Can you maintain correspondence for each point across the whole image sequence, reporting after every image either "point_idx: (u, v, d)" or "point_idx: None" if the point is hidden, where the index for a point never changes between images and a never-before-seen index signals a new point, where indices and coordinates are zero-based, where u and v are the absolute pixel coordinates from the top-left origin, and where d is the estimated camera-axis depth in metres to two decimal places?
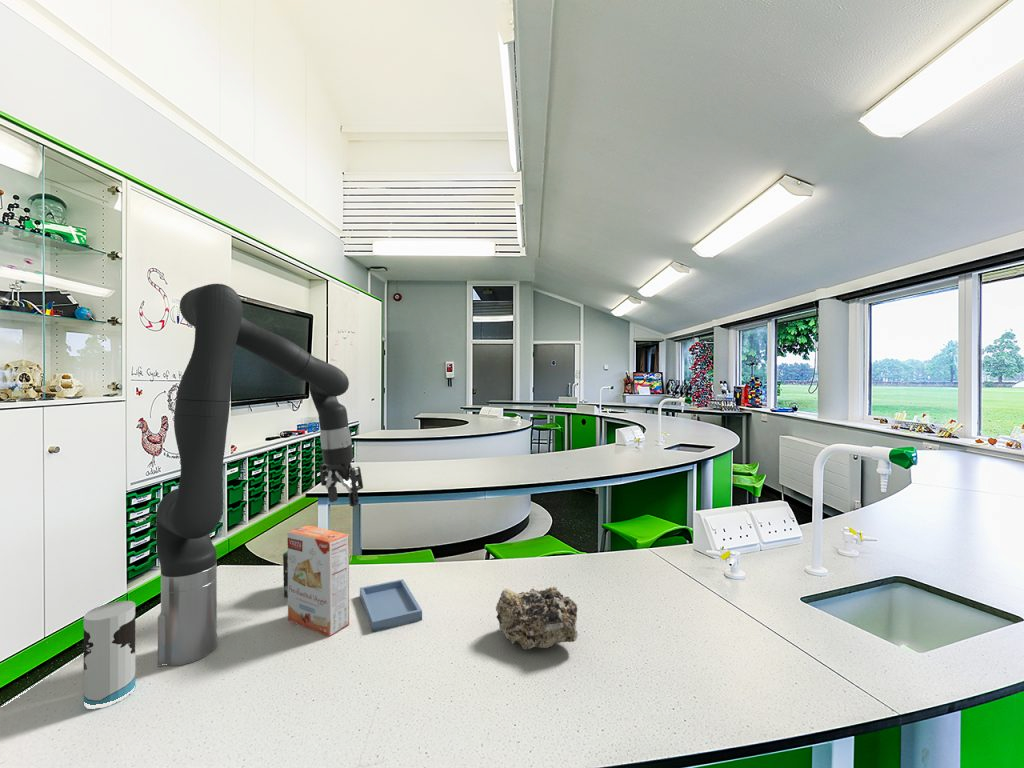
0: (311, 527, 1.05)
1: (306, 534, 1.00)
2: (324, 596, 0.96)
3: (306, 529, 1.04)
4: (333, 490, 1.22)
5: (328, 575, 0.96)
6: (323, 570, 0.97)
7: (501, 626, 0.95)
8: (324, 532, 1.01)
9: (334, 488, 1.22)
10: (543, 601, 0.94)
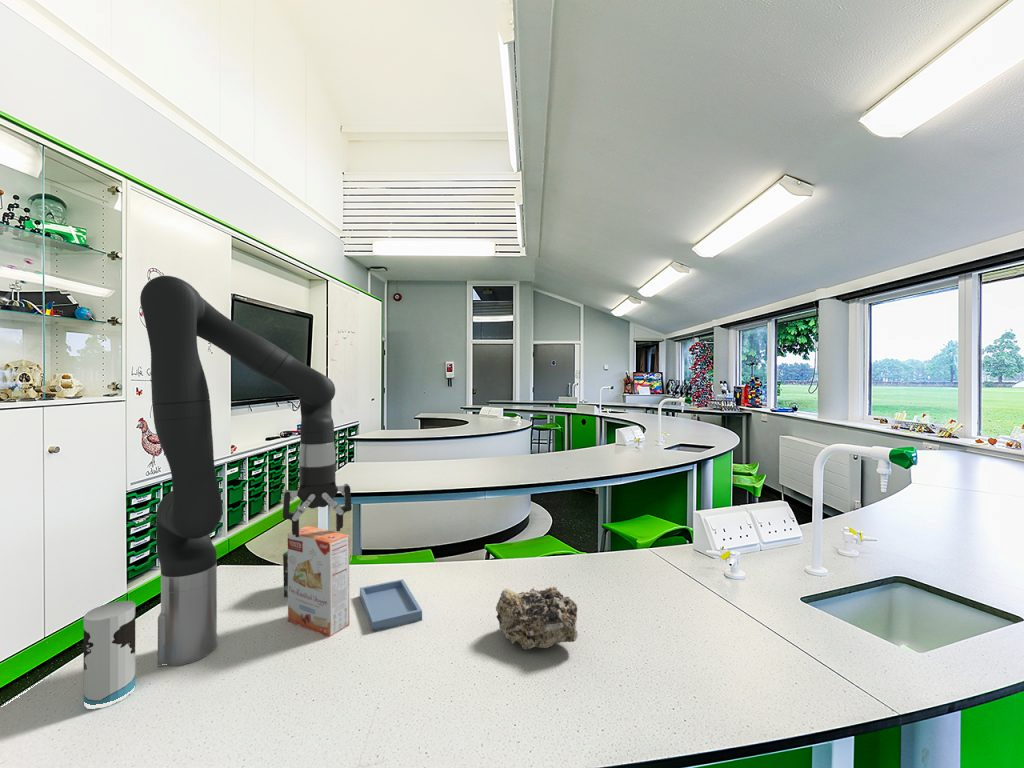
0: (311, 527, 1.05)
1: (306, 534, 1.00)
2: (325, 597, 0.97)
3: (306, 529, 1.04)
4: None
5: (328, 576, 0.96)
6: (324, 571, 0.97)
7: (501, 626, 0.95)
8: (324, 533, 1.01)
9: (298, 520, 1.00)
10: (543, 601, 0.94)
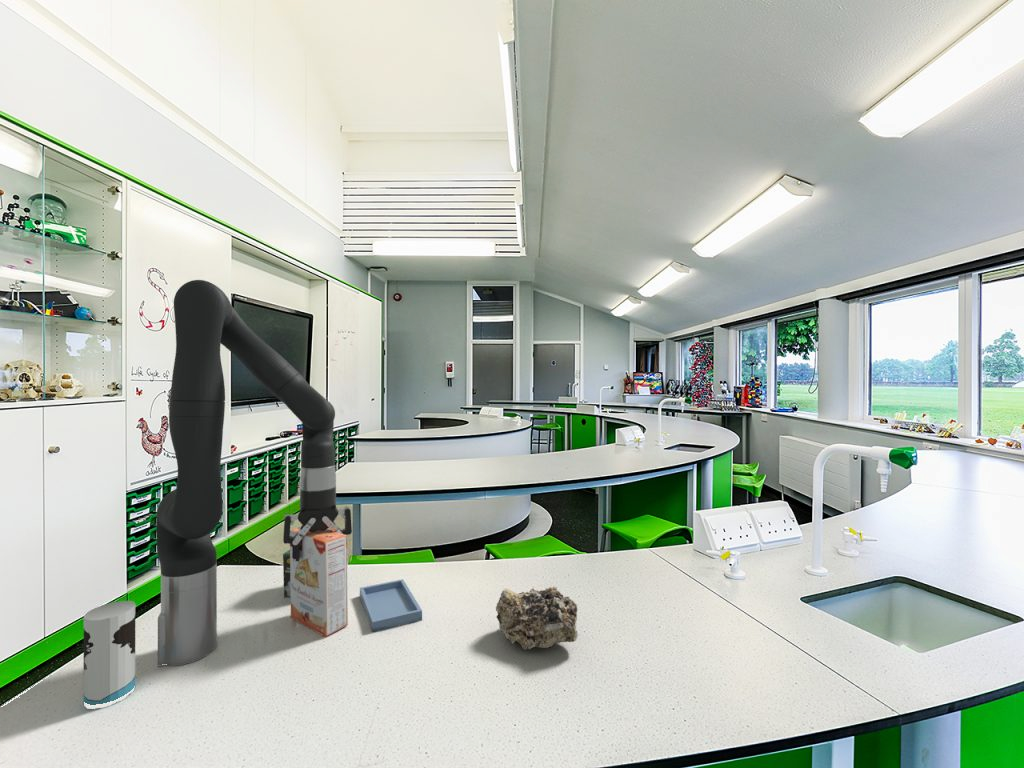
0: None
1: (306, 533, 1.01)
2: (321, 596, 0.96)
3: None
4: None
5: (324, 576, 0.96)
6: (320, 570, 0.96)
7: (501, 626, 0.95)
8: (324, 532, 1.01)
9: None
10: (543, 601, 0.94)
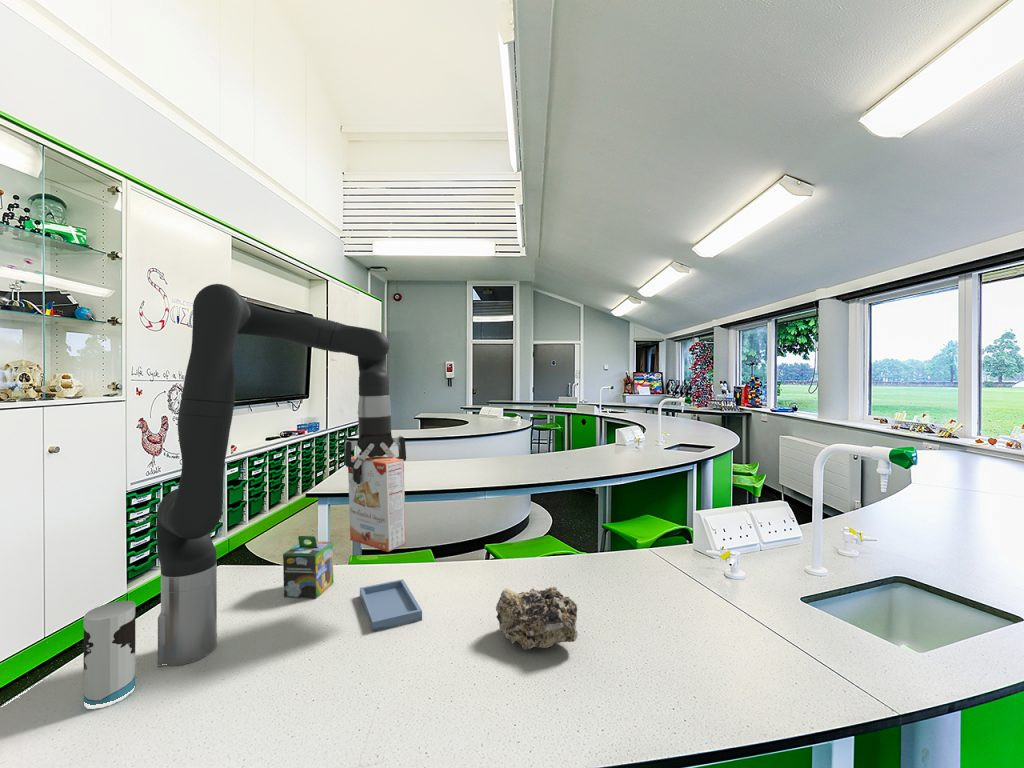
0: None
1: None
2: (382, 515, 1.03)
3: None
4: None
5: (385, 495, 1.02)
6: (381, 490, 1.03)
7: (501, 626, 0.95)
8: (381, 457, 1.07)
9: None
10: (543, 601, 0.94)
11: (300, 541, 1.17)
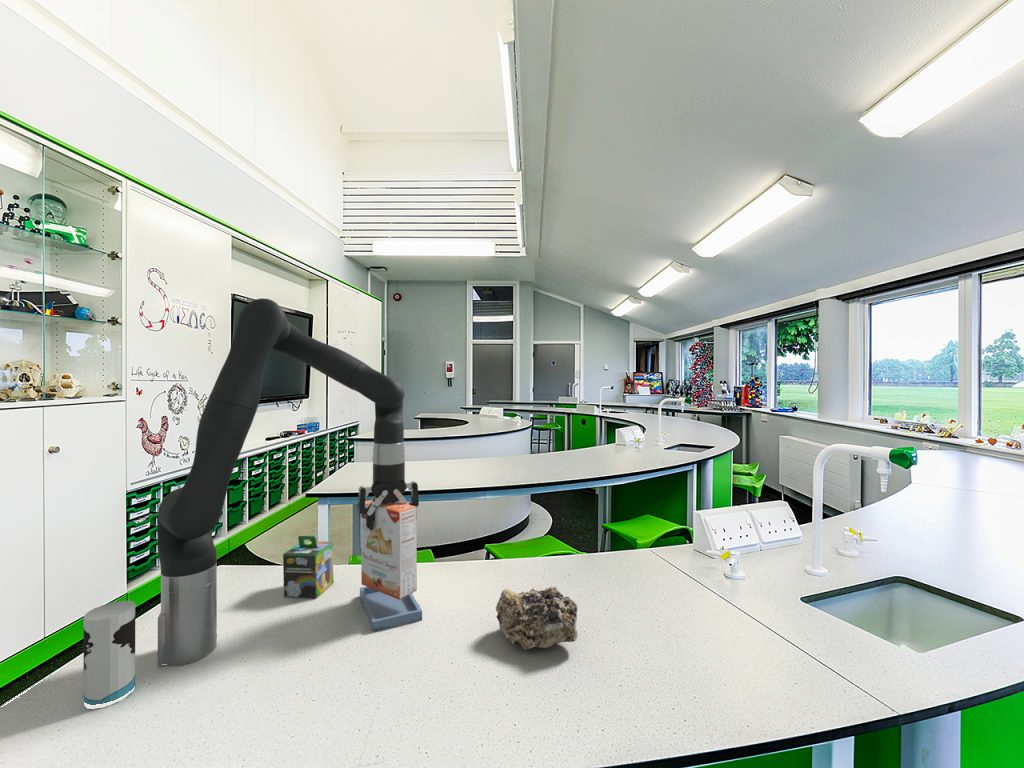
0: None
1: None
2: (395, 562, 1.04)
3: None
4: None
5: (398, 543, 1.03)
6: (394, 538, 1.04)
7: (501, 626, 0.95)
8: (394, 504, 1.09)
9: None
10: (543, 601, 0.94)
11: (300, 541, 1.17)
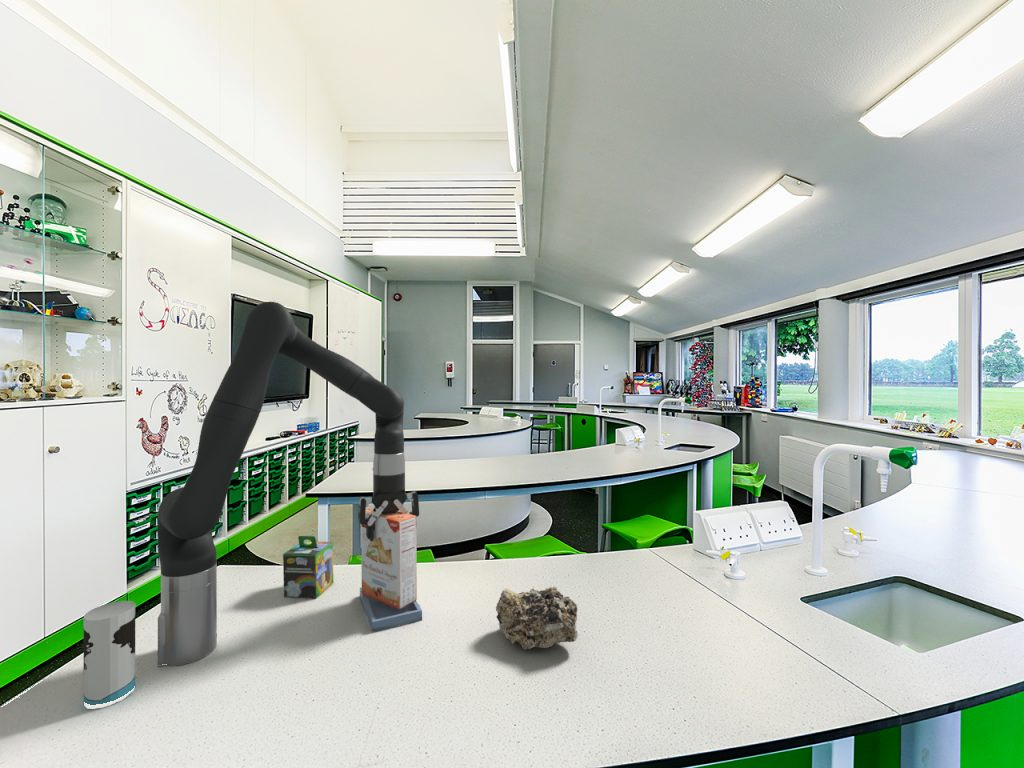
0: None
1: None
2: (395, 572, 1.04)
3: None
4: None
5: (398, 552, 1.03)
6: (394, 547, 1.04)
7: (501, 626, 0.95)
8: (394, 513, 1.09)
9: None
10: (543, 601, 0.94)
11: (300, 541, 1.17)
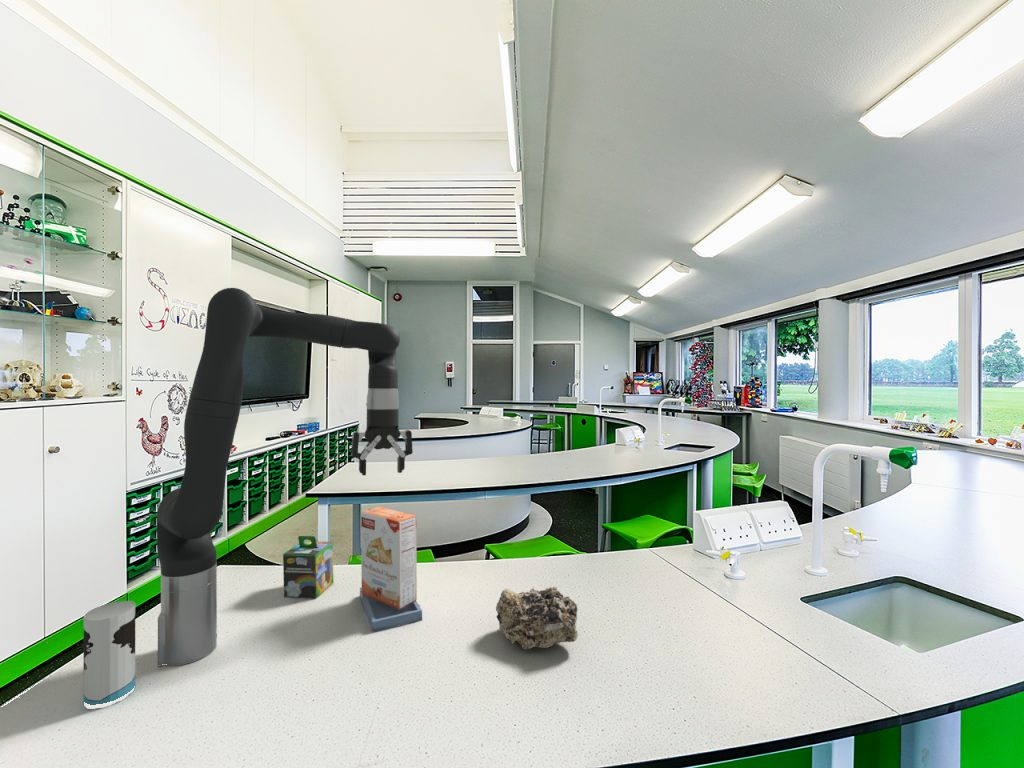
0: (381, 508, 1.13)
1: (378, 514, 1.08)
2: (395, 572, 1.04)
3: (377, 509, 1.12)
4: None
5: (398, 552, 1.03)
6: (394, 547, 1.04)
7: (501, 626, 0.95)
8: (394, 513, 1.09)
9: None
10: (543, 601, 0.94)
11: (300, 541, 1.17)
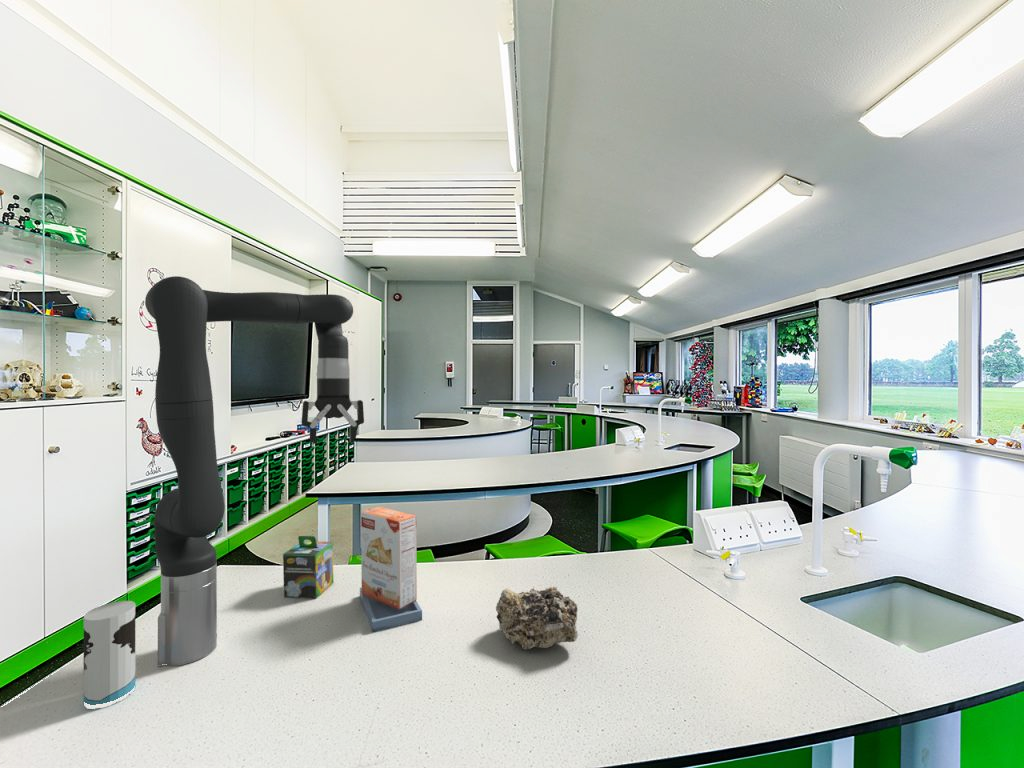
0: (381, 508, 1.13)
1: (378, 514, 1.08)
2: (395, 572, 1.04)
3: (377, 509, 1.12)
4: None
5: (398, 552, 1.03)
6: (394, 547, 1.04)
7: (501, 626, 0.95)
8: (394, 513, 1.09)
9: None
10: (543, 601, 0.94)
11: (300, 541, 1.17)
